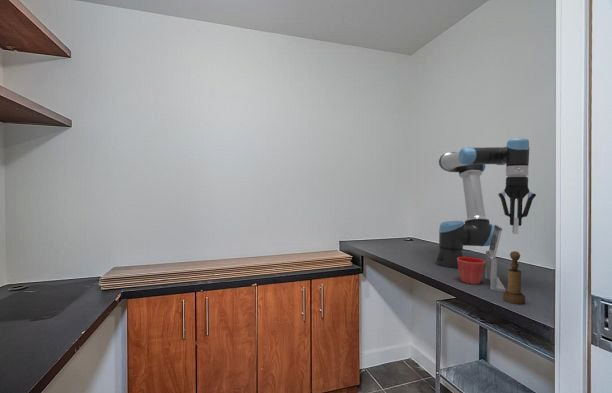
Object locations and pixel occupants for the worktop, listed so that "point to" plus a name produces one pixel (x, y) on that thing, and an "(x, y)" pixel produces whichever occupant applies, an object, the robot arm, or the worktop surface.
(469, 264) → the flower pot
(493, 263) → the hinge bracket
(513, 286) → the brown tall piece
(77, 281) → the worktop surface
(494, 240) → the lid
